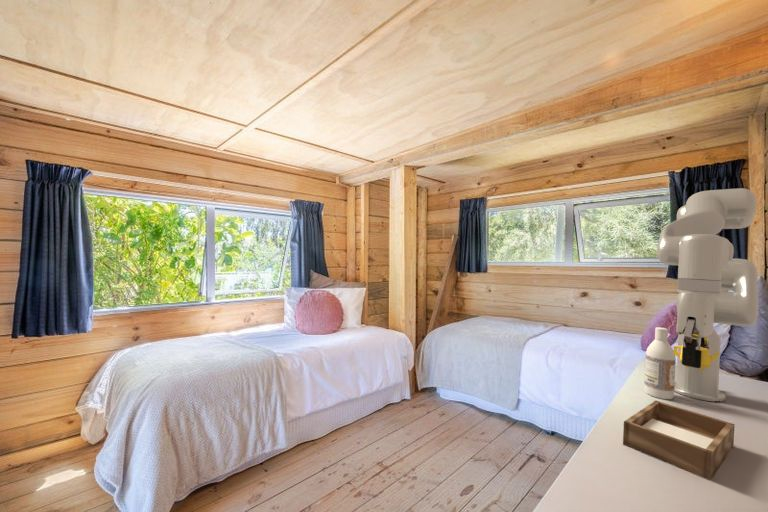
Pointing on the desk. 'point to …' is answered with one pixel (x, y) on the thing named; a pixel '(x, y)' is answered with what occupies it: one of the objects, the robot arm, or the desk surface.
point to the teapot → (704, 356)
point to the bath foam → (660, 366)
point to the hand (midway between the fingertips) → (695, 363)
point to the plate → (678, 433)
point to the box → (678, 450)
